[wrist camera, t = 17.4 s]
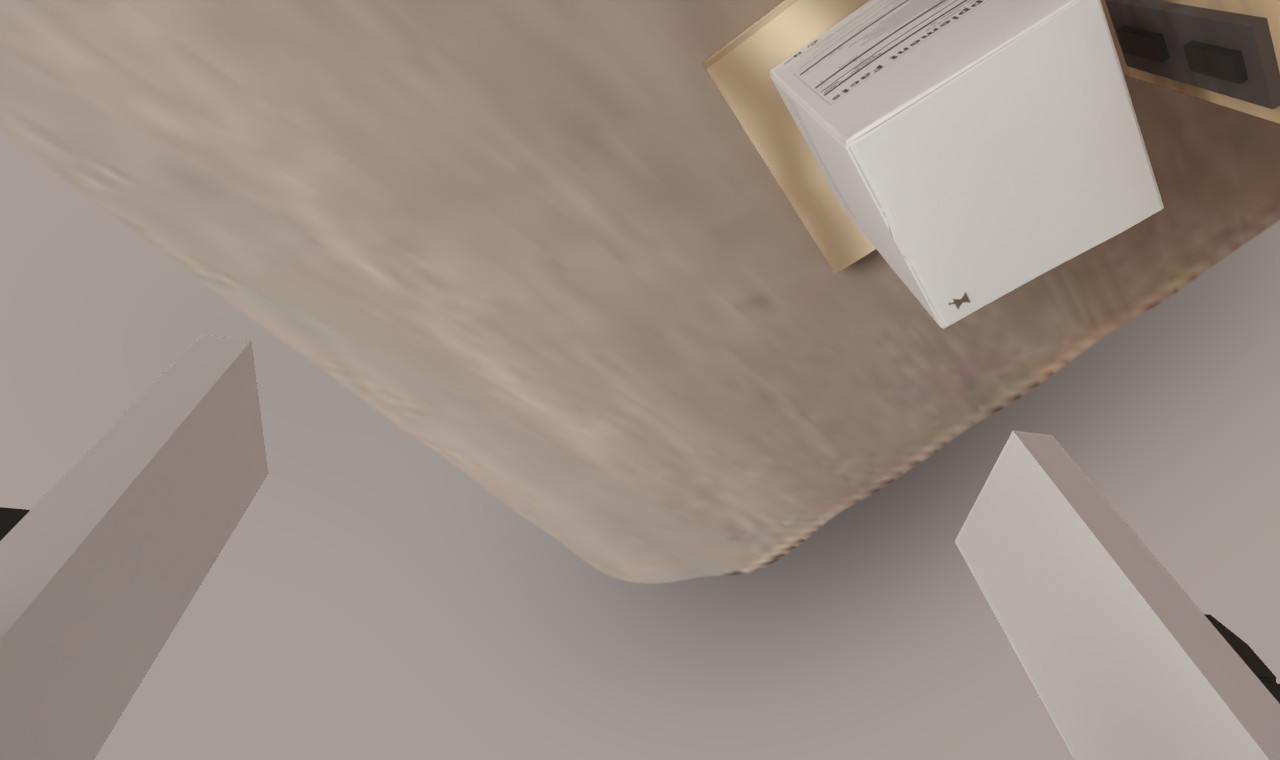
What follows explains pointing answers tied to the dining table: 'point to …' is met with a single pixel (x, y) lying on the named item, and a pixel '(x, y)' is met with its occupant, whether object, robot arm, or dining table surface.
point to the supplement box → (973, 139)
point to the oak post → (1203, 49)
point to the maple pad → (788, 118)
